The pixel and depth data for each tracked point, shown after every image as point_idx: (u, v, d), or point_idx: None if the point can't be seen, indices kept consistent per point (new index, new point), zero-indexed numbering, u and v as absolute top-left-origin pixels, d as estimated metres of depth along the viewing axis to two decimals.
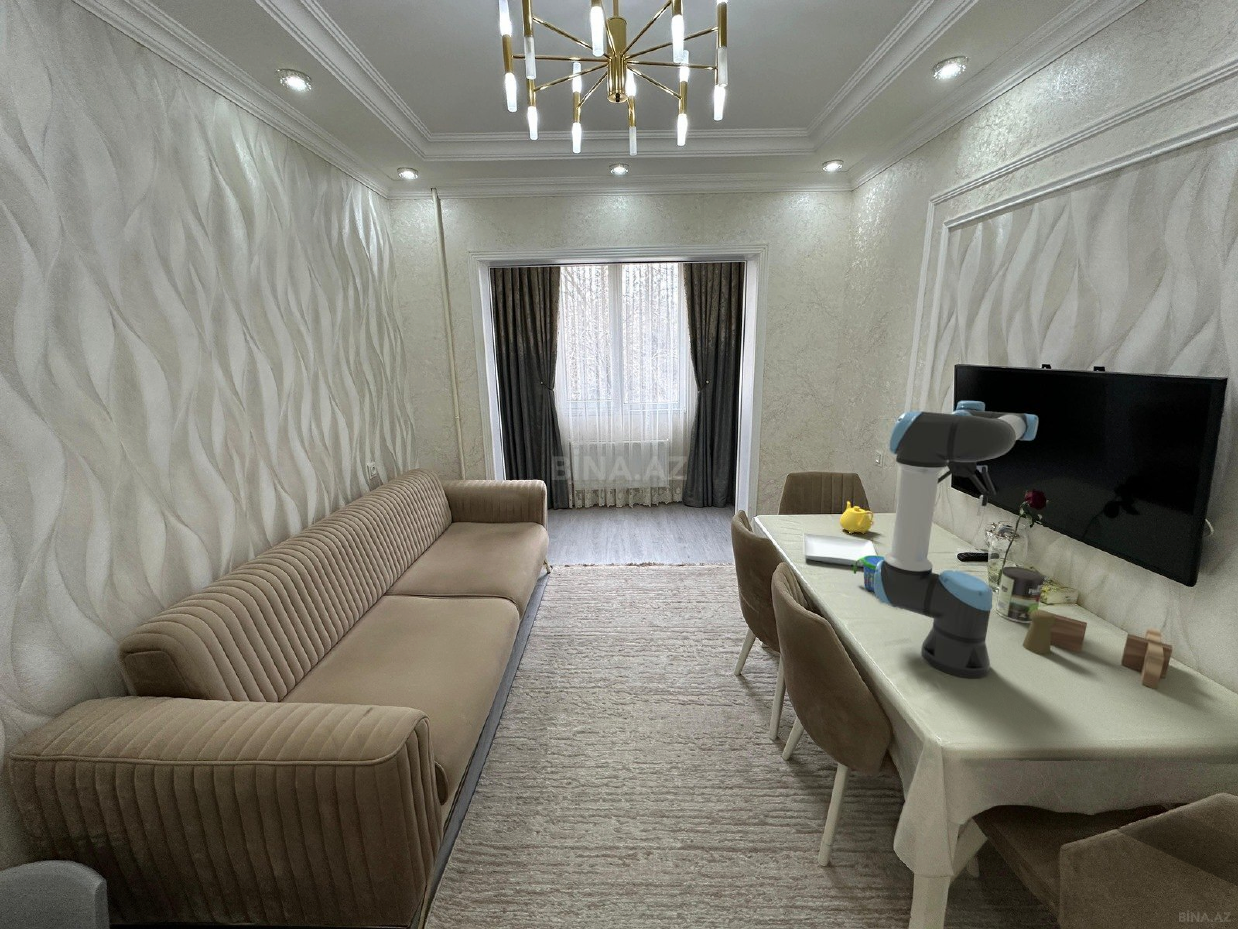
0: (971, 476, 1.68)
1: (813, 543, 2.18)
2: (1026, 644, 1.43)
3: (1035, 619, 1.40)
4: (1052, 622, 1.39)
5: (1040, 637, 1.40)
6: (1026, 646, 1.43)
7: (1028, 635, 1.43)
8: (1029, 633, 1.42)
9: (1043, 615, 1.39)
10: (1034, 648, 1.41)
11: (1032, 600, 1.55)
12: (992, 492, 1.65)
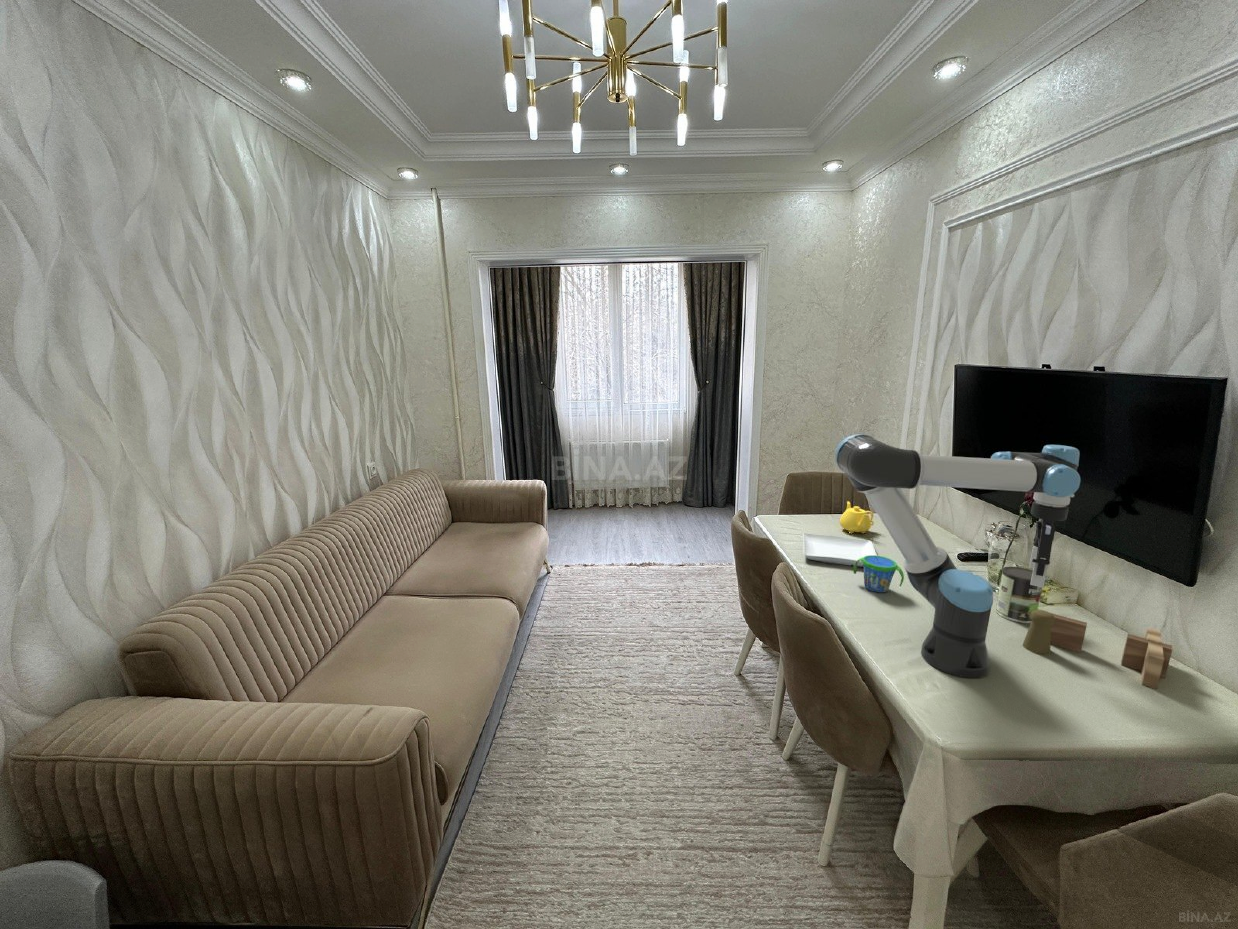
0: (1037, 535, 1.38)
1: (813, 543, 2.18)
2: (1026, 644, 1.43)
3: (1035, 619, 1.40)
4: (1052, 622, 1.39)
5: (1040, 637, 1.40)
6: (1026, 646, 1.43)
7: (1028, 635, 1.43)
8: (1029, 633, 1.42)
9: (1043, 615, 1.39)
10: (1034, 648, 1.41)
11: (1032, 600, 1.55)
12: (1037, 558, 1.34)
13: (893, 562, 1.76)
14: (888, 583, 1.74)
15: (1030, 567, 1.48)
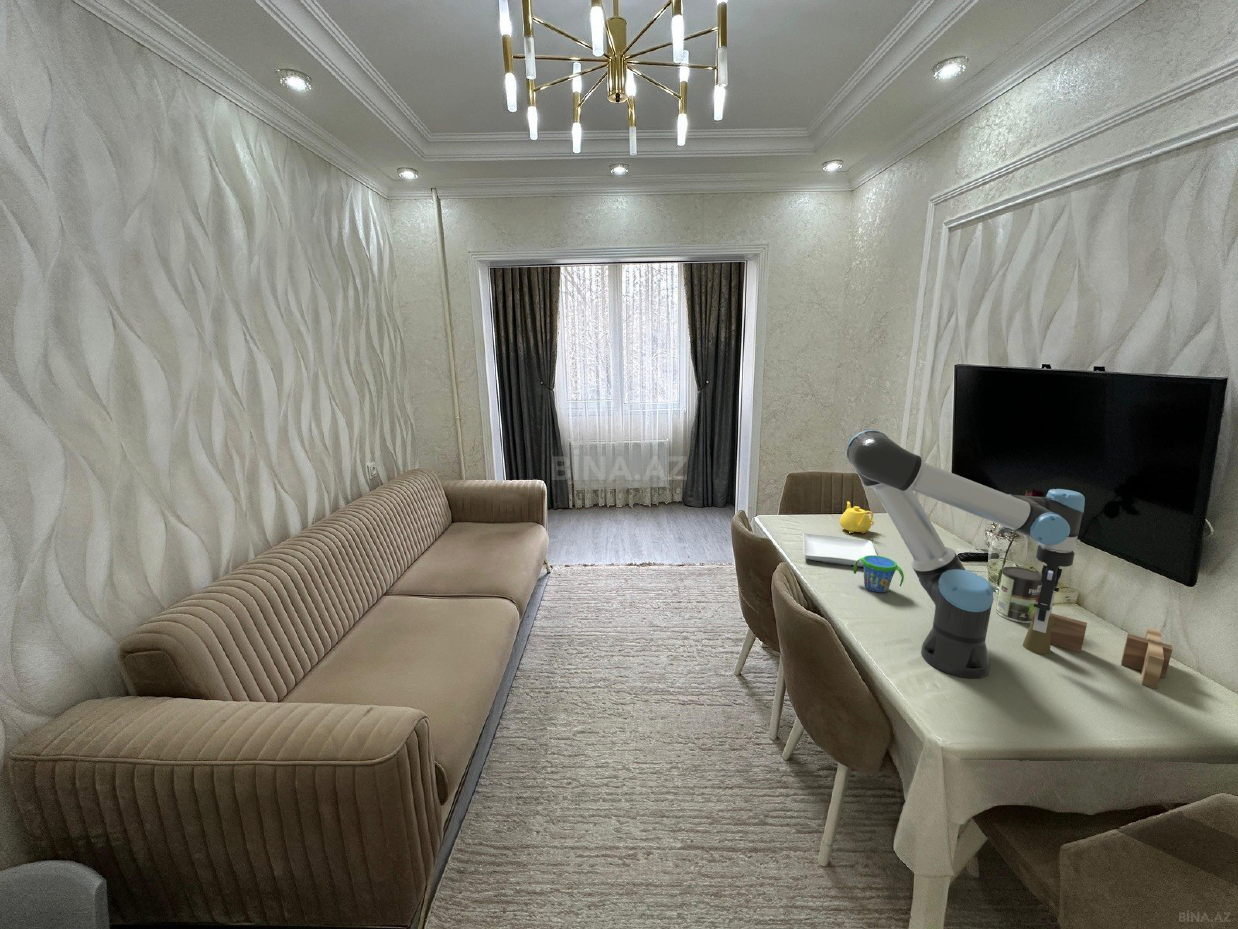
0: None
1: (813, 543, 2.18)
2: (1026, 644, 1.43)
3: None
4: (1052, 622, 1.39)
5: (1040, 637, 1.40)
6: (1026, 646, 1.43)
7: (1028, 635, 1.43)
8: (1029, 633, 1.42)
9: None
10: (1034, 648, 1.41)
11: (1032, 600, 1.55)
12: None
13: (893, 562, 1.76)
14: (888, 583, 1.74)
15: None
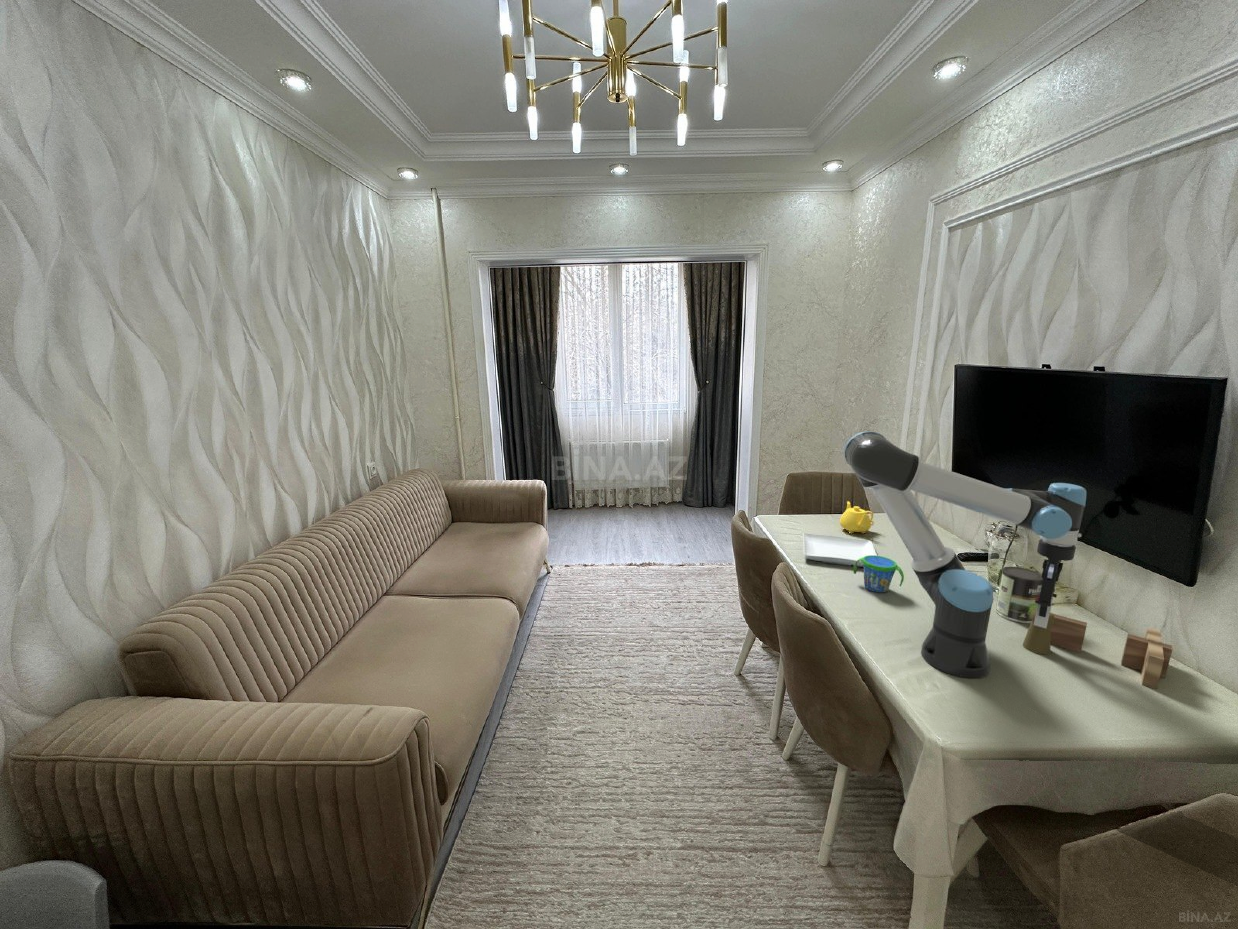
0: None
1: (813, 543, 2.18)
2: (1026, 644, 1.43)
3: None
4: (1052, 621, 1.39)
5: (1040, 637, 1.40)
6: (1026, 646, 1.43)
7: (1028, 635, 1.43)
8: (1029, 633, 1.42)
9: None
10: (1034, 648, 1.41)
11: (1032, 600, 1.55)
12: (1038, 600, 1.36)
13: (893, 562, 1.76)
14: (888, 583, 1.74)
15: None
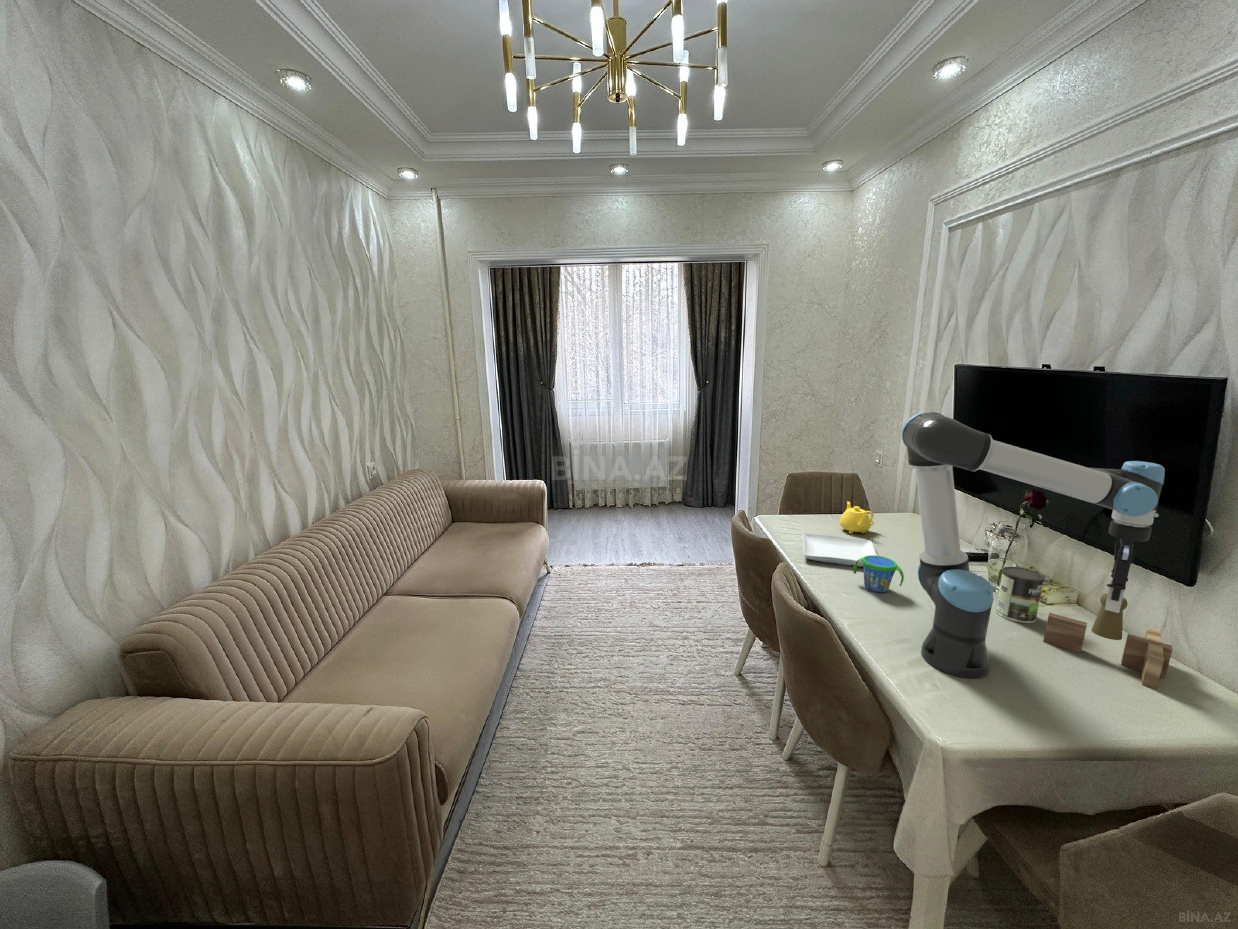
0: (1114, 557, 1.32)
1: (813, 543, 2.18)
2: (1096, 629, 1.37)
3: None
4: (1125, 605, 1.33)
5: (1112, 622, 1.34)
6: (1096, 631, 1.37)
7: (1098, 620, 1.37)
8: (1099, 618, 1.37)
9: None
10: (1105, 633, 1.35)
11: (1032, 600, 1.55)
12: (1112, 583, 1.31)
13: (893, 562, 1.76)
14: (888, 583, 1.74)
15: None
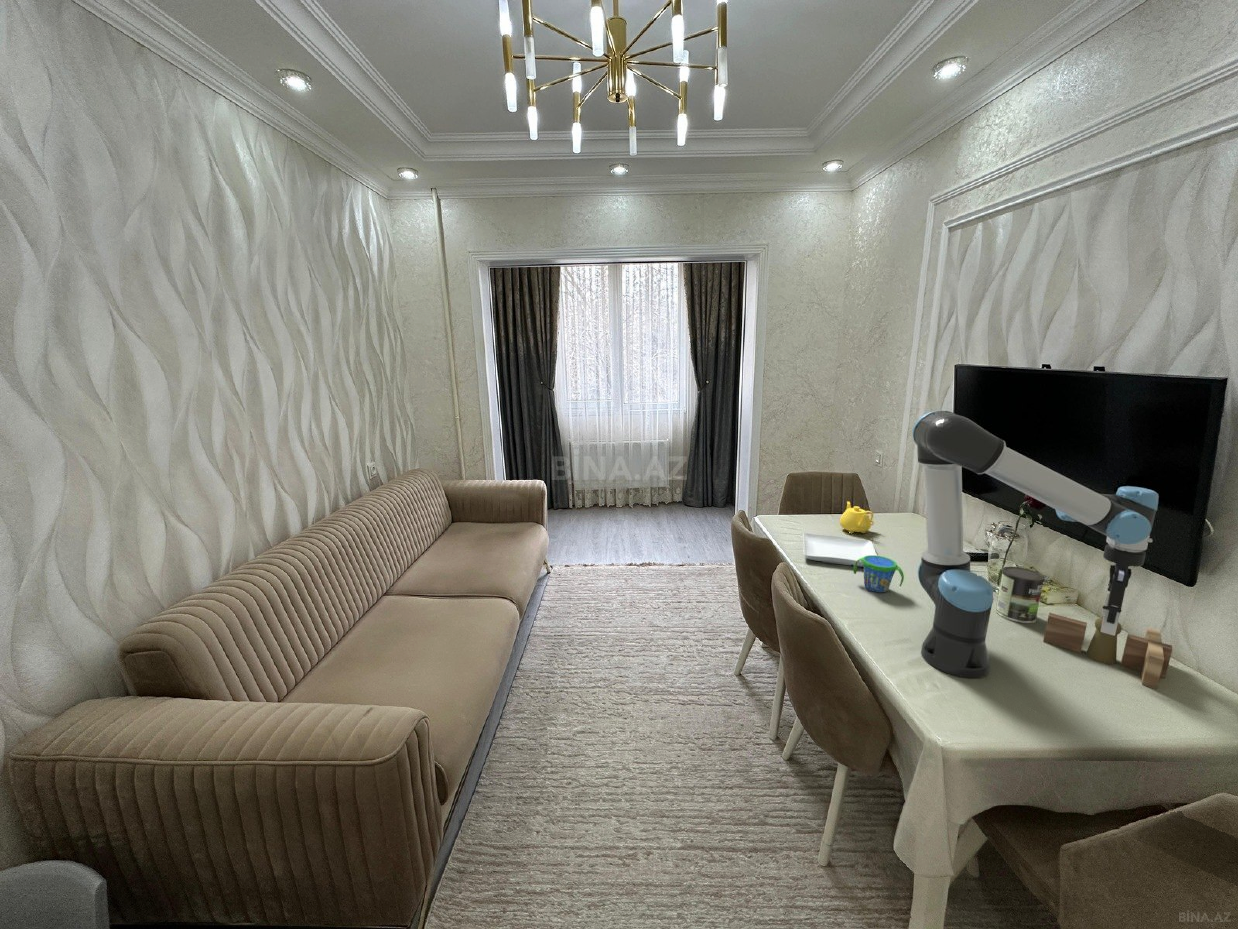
0: (1109, 580, 1.33)
1: (813, 543, 2.18)
2: (1091, 653, 1.39)
3: None
4: (1119, 631, 1.34)
5: (1106, 646, 1.36)
6: (1090, 655, 1.39)
7: (1092, 644, 1.38)
8: (1094, 642, 1.38)
9: None
10: (1099, 657, 1.37)
11: (1032, 600, 1.55)
12: (1108, 605, 1.30)
13: (893, 562, 1.76)
14: (888, 583, 1.74)
15: (1103, 613, 1.42)
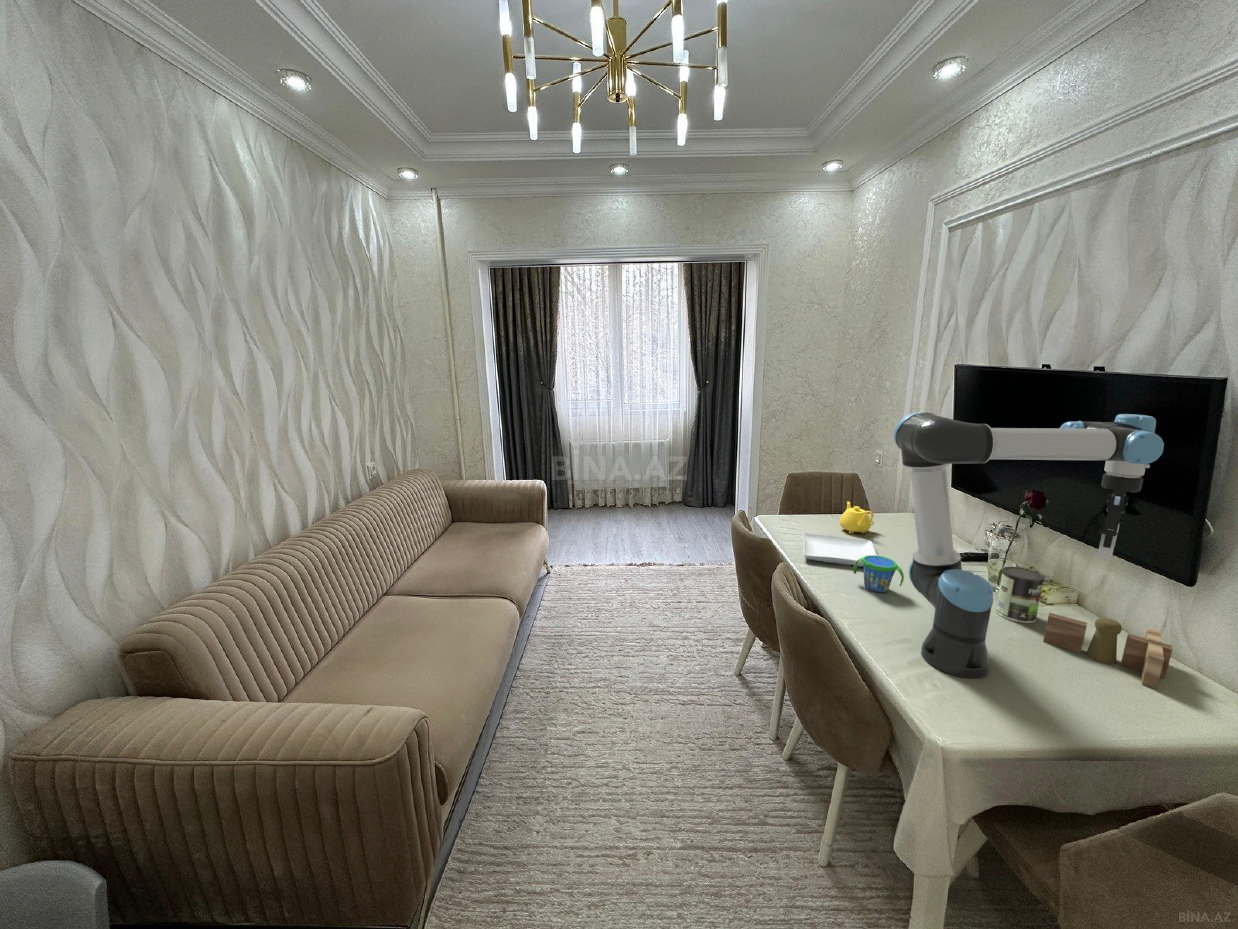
0: (1106, 507, 1.35)
1: (813, 543, 2.18)
2: (1091, 653, 1.39)
3: (1101, 627, 1.36)
4: (1119, 631, 1.34)
5: (1106, 646, 1.36)
6: (1090, 655, 1.39)
7: (1092, 644, 1.38)
8: (1094, 642, 1.38)
9: (1110, 623, 1.35)
10: (1099, 657, 1.37)
11: (1032, 600, 1.55)
12: None
13: (893, 562, 1.76)
14: (888, 583, 1.74)
15: None
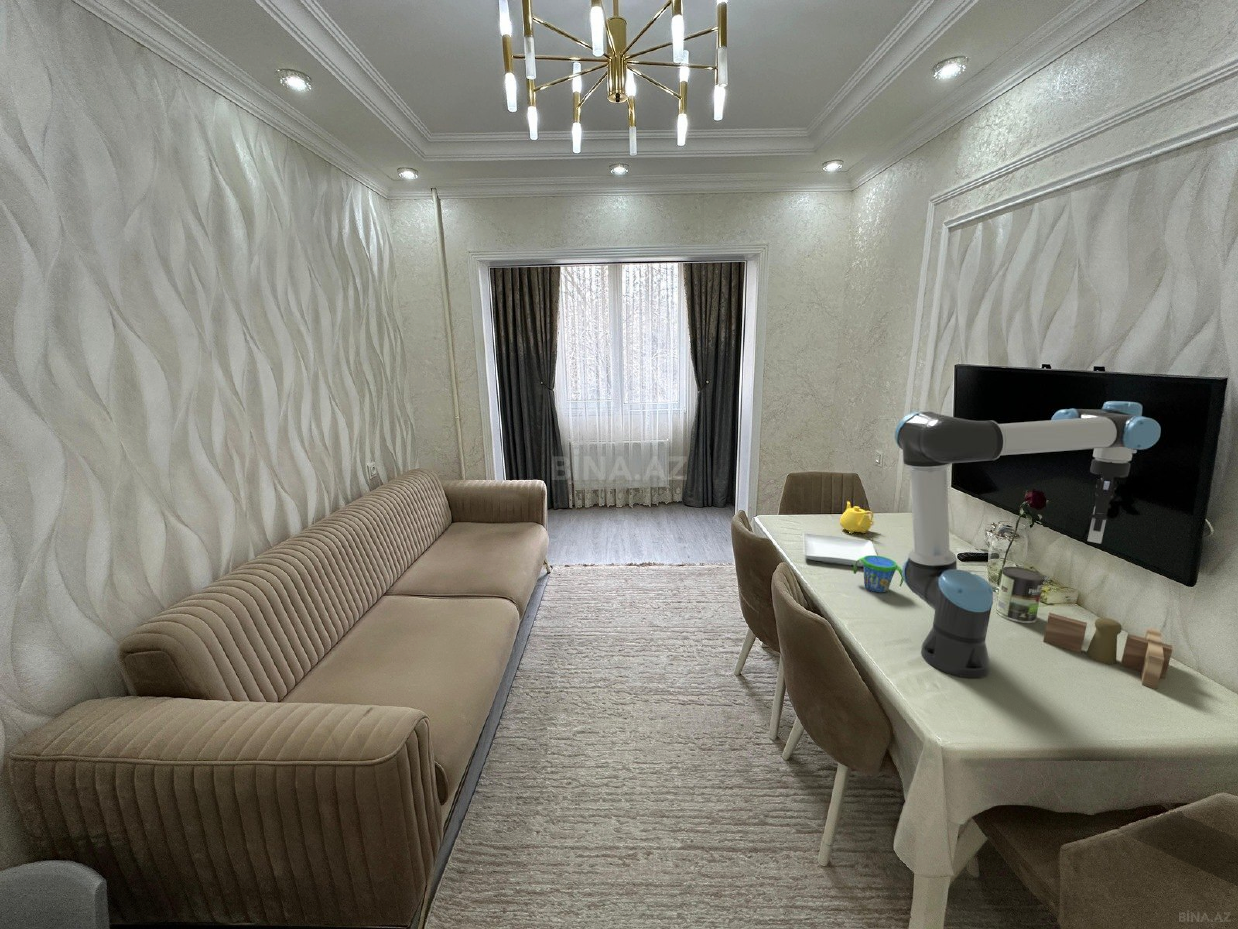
0: None
1: (813, 543, 2.18)
2: (1091, 653, 1.39)
3: (1101, 627, 1.36)
4: (1119, 631, 1.34)
5: (1106, 646, 1.36)
6: (1090, 655, 1.39)
7: (1092, 644, 1.38)
8: (1094, 642, 1.38)
9: (1110, 623, 1.35)
10: (1099, 657, 1.37)
11: (1032, 600, 1.55)
12: (1094, 512, 1.34)
13: (893, 562, 1.76)
14: (888, 583, 1.74)
15: None
